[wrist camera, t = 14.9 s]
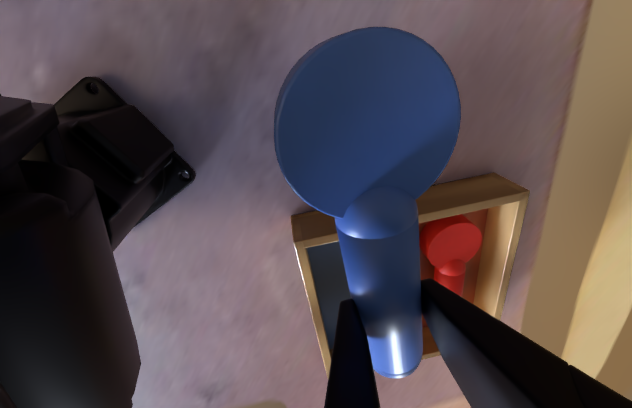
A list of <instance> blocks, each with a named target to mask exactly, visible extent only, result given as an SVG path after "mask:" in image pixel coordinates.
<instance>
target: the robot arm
mask: <svg viewBox="0 0 632 408" xmlns="http://www.w3.org/2000/svg"><path fill="white" fill-rule="evenodd" d="M92 83H93V84H95V85H96V86H97V87H98V93H95V92H94V91H93V90H92V89H91V84H92ZM182 172H185V173H187V174H188V175H189V178H184V177H183V176H182ZM195 176H196V174H195V171H194V170H193V169H192V168H191V167H190V166H189V165H188V164H187V163H186V162H185V161H184V160H183V159H182V158H181V157H180V156H179V155H178V154H177V153H176V152H175V151H174V146H173V144H172V143H171V142H170V141H169V140H168V139H167V138H166V137H165V136H164V135H163V134H162V133H161V132H160V131H159V130H158V129H157V128H156V127H155V126H154V125H153V124H152V123H151V122H150V121H149V120H148V119H147V118H146V117H145V116H144V115H143V114H142V113H141V112H140V111H139V110H138V109H137V108H136V107H135V106H133V105H128V104H127V103H126V102H125V101H124V100H123V99H122V98H121V97H120V96H119V95H118V94H117V93H116V92H115V91H114V90H113V89H112V88H111V87H110V86H109V85H108V84H107V83H105V82H104V81H103V80H102V79H100V78H98V77H85V78H83V79H81V80H80V81H79V82H78V83H77V84H76V85H75V86H74V87H73V88H72V89H71V90H69V91H68V92H67V93H66V94H65V95H64V96H63V97H62V98H61V99H60V100H59V101H57V102H56V103H55V104H54V105H53V104H44V103H32V102H31V101H30V100H25V99H18V98H10V97H3V96H1V94H0V408H132V405H133V403H132V396H133V394H134V391H135V387H136V383H137V378H138V374H139V370H140V366H141V361H140V355H139V350H138V344H137V340H136V336H135V332H134V329H133V325H132V322H131V318H130V314H129V311H128V307H127V303H126V300H125V296H124V292H123V289H122V285H121V281H120V278H119V274H118V270H117V267H116V263H115V259H114V256H113V251H114V250H115V249H116V248H117V246H118V245H119V244H120V243H121V241H122V240H123V239H124V238H125V237H126V235H127V234H128V233H129V232H130V231H131V229H132V228H133V227H134V226H136V225H137V224H138V223H140V222H141V221H142V220H144V219H145V218H146V217H148V216H149V215H150V214H152V213H153V212H154V211H156V210H157V209H158V208H159V207H161V206H162V205H163V204H165V203H166V202H167V201H169V200H170V199H171V198H173V197H174V196H175V195H177V194H178V193H179V192H181V191H182V190H183V189H184V188H186V187H187V186H188V185H190V184H191V183H192V182H193V181H194V179H195ZM421 305H422V314H423V317H424V319H425V321H426V323H427V325H428V328H429V330H430V332H431V334H432V336H433V338H434V341H435V343H436V345H437V347H438V349H439V351H440V354H441V356H442V358H443V360H444V361H445V363H446V365H447V367H448V368H449V370H450V372H451V374H452V375H453V377H454V379H455V380H456V382H457V384H458V386H459V387H460V389H461V391H462V392H463V394H464V396H465V397H466V399H467V401H468V403H469V404H470V406H471V408H632V401H631V400H629V399H627V398H625V397H623V396H622V395H620V394H618V393H617V392H615V391H613V390H611V389H610V388H608V387H607V386H605V385H603V384H602V383H600V382H598V381H597V380H595V379H593V378H592V377H590V376H588V375H587V374H585V373H584V372H582V371H580V370H579V369H577V368H576V367H574V366H572V365H568V363H567V362H566V361H564V360H562V359H561V358H559V357H558V356H556V355H554V354H553V353H551V352H550V351H548V350H546V349H545V348H543V347H541V346H540V345H538V344H537V343H535V342H533V341H532V340H530V339H529V338H527V337H525V336H524V335H522V334H520V333H519V332H517V331H516V330H514V329H512V328H511V327H509V326H508V325H506V324H504V323H503V322H501V321H500V320H498V319H496V318H495V317H493V316H491V315H490V314H488V313H487V312H485V311H483V310H482V309H480V308H479V307H477V306H475V305H474V304H472V303H471V302H469V301H467V300H466V299H464V298H462V297H461V296H459V295H458V294H456V293H454V292H453V291H451V290H450V289H448V288H446V287H445V286H443V285H441V284H440V283H438V282H437V281H435V280H433V279H431V278H427V279H424V280H421ZM324 408H380V403H379V397H378V392H377V386H376V381H375V375H374V370H373V365H372V359H371V354H370V348H369V343H368V339H367V335H366V331H365V328H364V326H363V323H362V320H361V317H360V315H359V312H358V309H357V306H356V304H355V302H354V300H353V299H352V298H350V299H347V300H343V301H341V302H340V305H339V311H338V318H337V325H336V332H335V338H334V345H333V352H332V359H331V365H330V372H329V379H328V386H327V392H326V399H325V406H324Z"/></svg>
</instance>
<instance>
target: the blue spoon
mask: <svg viewBox="0 0 632 408" xmlns="http://www.w3.org/2000/svg"><path fill="white" fill-rule="evenodd" d="M460 120H461V104H460V97H459V91H458V88H457V85H456V81H455V79H454V77H453V74H452V72H451V70H450V68H449V67H448V65H447V64H446V62H445V61H444V59H443V58H442V56H441V55H440V54H439V53H438V52H437V51H436V50H435V49H434V48H433V47H432V46H431V45H429V44H428V43H427V42H426V41H424V40H423V39H421V38H419V37H417V36H415V35H414V34H412V33H409V32H406V31H403V30H400V29H395V28H389V27H368V28H361V29H356V30H353V31H350V32H347V33H344V34H341V35H338V36H335V37H332V38H330V39H328V40H326V41H324V42H322V43H319V44H318V45H316V46H315V47H313V48H312V49H311V50H309V51H308V52H307V53H306V54H305V55H304V56H302V57H301V58H300V59H299V60H298V62H297V63H296V64H295V65H294V66H293V68H292V69H291V70H290V72H289V74H288V75H287V77H286V78H285V80H284V83H283V85H282V87H281V89H280V92H279V95H278V98H277V102H276V107H275V115H274V142H275V151H276V156H277V160H278V163H279V166H280V169H281V171H282V173H283V175H284V177H285V179H286V181H287V183H288V184H289V185H290V187H291V188H292V190H293V191H294V192H295V193H296V194H297V195H298V196H299V197H300V198H301V199H302V200H303V201H304V202H306V203H307V204H308V205H309V206H311V207H313V208H314V209H316V210H318V211H320V212H322V213H325V214H327V215H329V216H333V217H335V224H336V229H337V234H338V238H339V243H340V248H341V253H342V257H343V262H344V267H345V272H346V276H347V281H348V286H349V291H350V295H351V298H352V299H353V300H354V302H355V304H356V306H357V309H358V312H359V315H360V317H361V320H362V323H363V326H364V328H365V331H366V335H367V339H368V343H369V348H370V354H371V359H372V365H373V369H374V370H375V371H376V372H377V373H379V374H380V375H383V376H385V377H389V378H403V377H406V376H408V375H410V374H411V373H413V372H414V371H415V370H416V369H417V367H418V365H419V364H420V362H421V359H422V354H423V333H422V305H421V276H420V247H419V219H418V207H417V203H416V199H417V198H419V197H420V196H421V195H422V194H423V193H424V192H426V191H427V190H428V189H429V188H430V187H431V185H432V184H433V183H434V182H435V181H436V180H437V178H438V177H439V176H440V174H441V173H442V171H443V170H444V168H445V167H446V165H447V163H448V161H449V159H450V157H451V155H452V153H453V150H454V147H455V145H456V142H457V138H458V133H459V129H460Z"/></svg>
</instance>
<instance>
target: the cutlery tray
mask: <svg viewBox="0 0 632 408" xmlns="http://www.w3.org/2000/svg"><path fill="white" fill-rule="evenodd" d="M529 194H530V190H528V189H526V188H524V187H522V186H520V185H518V184H516V183H514V182H512V181H510V180H508V179H506V178H504V177H502V176H500V175H498V174H497V173H489V174H484V175H480V176H475V177H470V178H466V179H461V180H456V181H452V182H447V183H442V184H438V185H433V186H431V187H430V188H429V189H428V190H427V191H426V192H424V193H423V194H422V195H421V196H420V197H419V198H417V199H416V203H417V207H418V219H419V236H420V233H421V231H422V229H423V228H424V227H425V225H426V224H427V223H428V222H429V221H432V220H436V219H441V218H445V217H450V216H455V215H459V214H462V215H463V216H465V217H466V218H467V219H468V220H470V221H471V222H472V223H473V224H475V225H476V226H477V227H478V228H479V229H480V231H481V234H482V242H481V246H480V248H479V250H478V251H477V253H476V254H475V255H474V256H473V257H472V258H471V259H470V260H469V261H468V262H466V263H465V265H466V271H465V279H464V287H463V295H462V298H464V299H466V300H467V301H469V302H471V303H472V304H474V305H475V306H477V307H479V308H480V309H482V310H483V311H485V312H487V313H488V314H490V315H491V316H493V317H495V318H496V319H498V320H500V319H501V314H502V310H503V306H504V301H505V297H506V293H507V288H508V284H509V280H510V276H511V271H512V267H513V263H514V258H515V254H516V250H517V246H518V241H519V237H520V233H521V228H522V224H523V220H524V215H525V211H526V207H527V203H528V198H529ZM291 225H292V233H293V242H294V246H295V250H296V254H297V258H298V262H299V266H300V270H301V274H302V278H303V282H304V286H305V290H306V294H307V298H308V302H309V306H310V310H311V314H312V318H313V322H314V326H315V330H316V334H317V338H318V342H319V346H320V350H321V354H322V358H323V361H324V365H325V369H326V373H327V377H328V379H329V372H330V365H331V359H332V352H333V345H334V338H335V332H336V325H337V318H338V311H339V305H340V302H341V301H343V300H347V299H350V298H351V295H350V291H349V286H348V281H347V276H346V272H345V267H344V262H343V257H342V253H341V248H340V243H339V238H338V234H337V229H336V224H335V217H333V216H329V215H327V214H325V213H322V212H320V211H318V210H316V211H312V212H307V213H302V214H298V215H293V216H291ZM434 267H435V266H434V265H432V264H431V263H430V261H429V260H428V259H427V258H426V256H425V255H424V254H423V252H422V251H421V250H420V276H421V280H424V279H427V278H431V279H433V280H434ZM422 333H423V354H422V359H421V360H423V359H427V358H431V357H435V356H439V355H441V354H440V351H439V349H438V347H437V345H436V343H435V341H434V338H433V336H432V334H431V332H430V330H429V328H428V325H427V323H426V321H425V319H424V317H423V314H422ZM373 370H374V369H373ZM374 371H375V370H374Z"/></svg>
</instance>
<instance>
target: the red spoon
mask: <svg viewBox="0 0 632 408" xmlns="http://www.w3.org/2000/svg"><path fill="white" fill-rule="evenodd" d="M481 242H482V234H481V231H480V229H479V228H478V227H477V226H476V225H475V224H473V223H472V222H471V221H470V220H468V219H467V218H466V217H465V216H463V215H462V214H459V215H455V216H450V217H445V218H441V219H436V220H432V221H429V222H428V223H427V224H426V225H425V227H424V228H423V229H422V231H421V233H420V236H419V247H420V250H421V251H422V252H423V254H424V255H425V256H426V258H427V259H428V260H429V261H430V263H431V264H432V265H434V266H435V267H434V280H435V281H437V282H438V283H440V284H441V285H443V286H445V287H446V288H448V289H450V290H451V291H453V292H454V293H456V294H458V295H459V296H461V297H462V295H463V287H464V279H465V271H466V265H465V263H466V262H468V261H469V260H470V259H471V258H472V257H473V256H474V255H475V254H476V253H477V251H478V250H479V248H480V246H481Z"/></svg>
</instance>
